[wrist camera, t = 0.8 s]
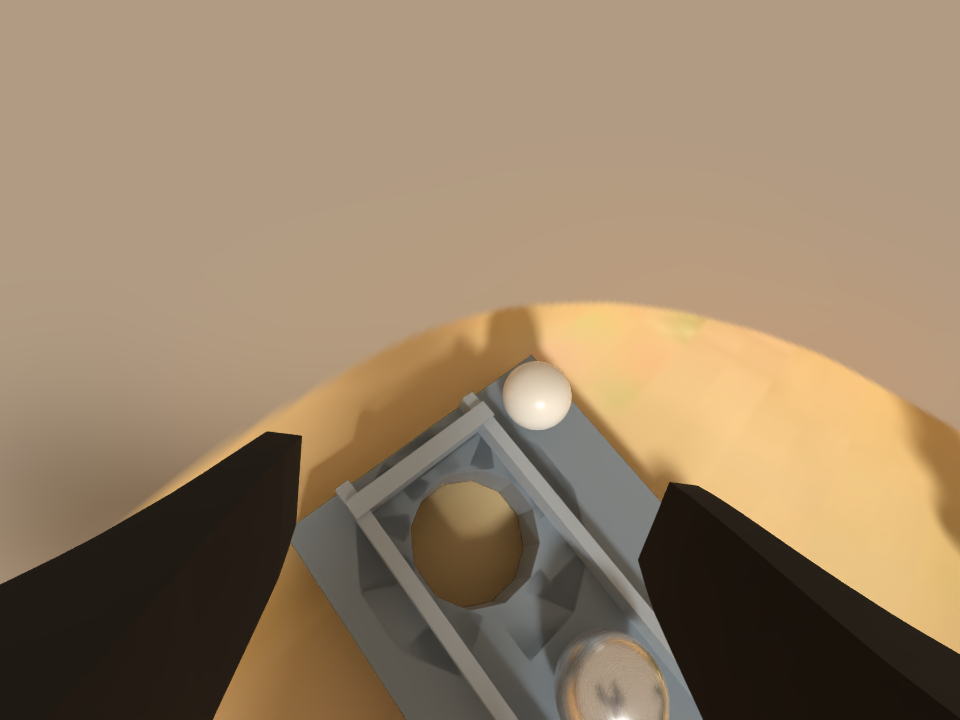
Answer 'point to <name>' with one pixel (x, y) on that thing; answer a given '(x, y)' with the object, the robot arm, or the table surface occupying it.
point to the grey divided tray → (539, 578)
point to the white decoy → (536, 395)
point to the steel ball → (609, 679)
